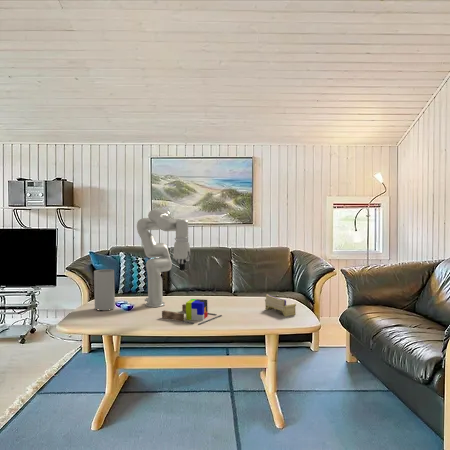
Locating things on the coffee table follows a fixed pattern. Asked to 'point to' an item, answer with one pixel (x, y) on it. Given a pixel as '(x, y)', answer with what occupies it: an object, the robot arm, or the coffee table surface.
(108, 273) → the grey rounded tower
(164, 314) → the chute
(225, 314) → the coffee table surface
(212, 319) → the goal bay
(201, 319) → the puzzle toy
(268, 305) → the toy sofa
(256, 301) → the coffee table surface
